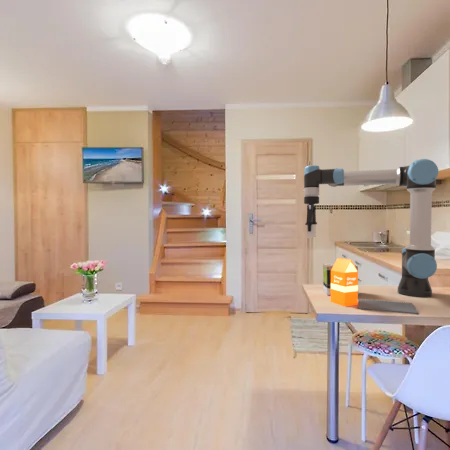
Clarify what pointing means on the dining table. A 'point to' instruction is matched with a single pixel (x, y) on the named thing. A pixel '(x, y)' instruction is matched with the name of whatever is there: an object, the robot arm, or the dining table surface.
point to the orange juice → (344, 283)
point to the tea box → (328, 277)
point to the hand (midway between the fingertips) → (311, 237)
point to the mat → (387, 306)
